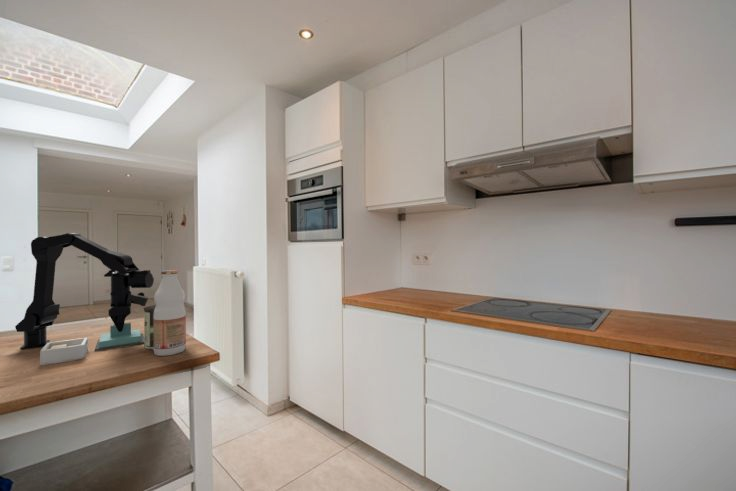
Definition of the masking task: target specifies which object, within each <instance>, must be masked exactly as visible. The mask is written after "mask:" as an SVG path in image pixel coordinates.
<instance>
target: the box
mask: <svg viewBox="0 0 736 491" xmlns="http://www.w3.org/2000/svg"><path fill="white" fill-rule="evenodd" d="M88 351H89V338H88V337H80V338H73V339H72V338H71V339H67V340H59V341H52V342H51V341H50V342H49V343H47V344H46V345H45V346H42V348H41V349H40V350H39V355H40V356H39V359H40V360H39V362H40V363H39V365H40V366H46V365H47V366H49V365H53V364H59V363H65V362H71V361H76V360H77V361H78V360H84V359H85V358H86V355H87V354H88Z"/></svg>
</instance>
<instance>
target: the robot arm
mask: <svg viewBox="0 0 736 491" xmlns="http://www.w3.org/2000/svg"><path fill="white" fill-rule="evenodd" d="M71 246H72V247H74V248H76V249H77V250H80V251H82V252H83V253H86V254H88V255H90V256H92V257H94V258H96V259H98V260H99V261H100V262H101V263H102V265H103V266H105V267H106V268H107V269H109V270H108V271H107V272H106V273H105V274H104V275H103V277H105V278H106V277H107V278H110V307H109V309H108V316H109V318H110V319H111V321H112V322H113V325H114V324H115V326H116V328H117V330H118V332H122V331H123V326H124V323H126V322H125V321H126V318H127V317H128V316H130V315H131V314H132V312H131V311H132V308H131V307H132V304H134V305H139V306H141V307H146V305H147V302H148V300H149V297H148V296H146V295H145V292H142V291H139V292H138V293H137V294H136V293H132V290H131V288H132V289H150V288H152V287H153V285H154V281H155V279H154V276H153V274H152V273H151V270H150V269H144V270H140V269H139V267H138V266H137V265H136V264H135V263H134V260H133V258H132V256H131V255H128V254H125V253H122V252H118V251H113V250H111V249H108V248H106V247H105V246H102V245H100V244H98V243H96V242H95V241H93V240H90V239H89V238H86V237H85V236H83V235H81V234H80V233H77V232H76V233H75V232H66V233H64V234H60V235H53V236H37V237H35V238H34V239H32V240H31V242H30V250H31V255H32V256H33V258H34V259H35V261H36V266H35V275H34V276H35V278H34V284H33V285H34V288H33V295H32V296H33V298H32V301H31V303H30V304H29V305H28V307H27V308H26V310H25V314H24V318H22V320H21V321H19V322H18V323H17V324H16V325H15V326H14V327H15V330H16V332H17V333H20V332H21V333H23V344H22V346H20V350H24V349H30V348H37V347H44V346H45V345H46V344H47V343H49V342H51V341H50V340H48V339H47V338H48V337H47V327H50V326H53V324H54V322H55V320H56V319H57V318H58V315H60V305H61V304H60V303H55V301H54V299H53V295H54V285H55V277H56V276H55V274H56V273H55V272H56V264H57V260H58V259H59V258H60V257H61V255H62V253H63V251H64V249H65V248H69V247H71Z"/></svg>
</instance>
